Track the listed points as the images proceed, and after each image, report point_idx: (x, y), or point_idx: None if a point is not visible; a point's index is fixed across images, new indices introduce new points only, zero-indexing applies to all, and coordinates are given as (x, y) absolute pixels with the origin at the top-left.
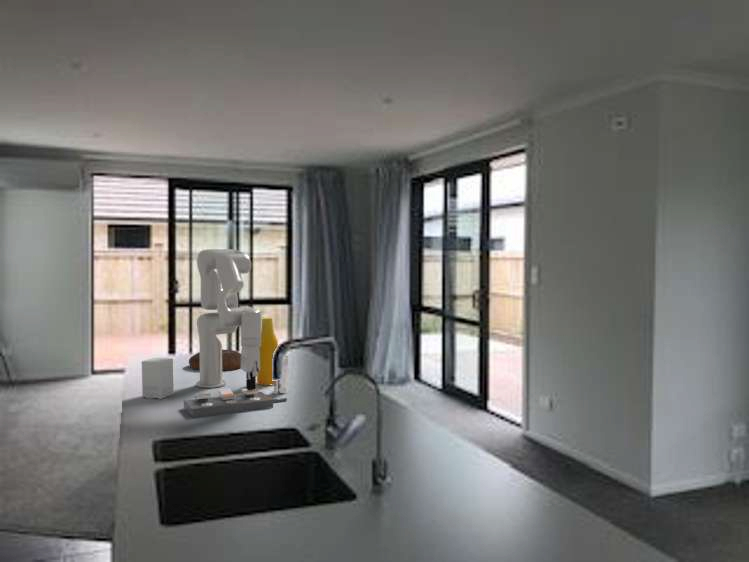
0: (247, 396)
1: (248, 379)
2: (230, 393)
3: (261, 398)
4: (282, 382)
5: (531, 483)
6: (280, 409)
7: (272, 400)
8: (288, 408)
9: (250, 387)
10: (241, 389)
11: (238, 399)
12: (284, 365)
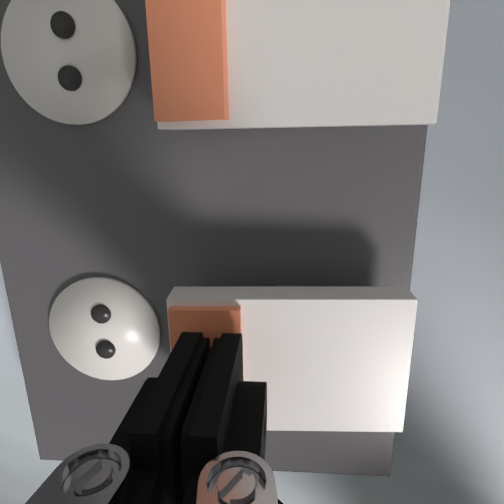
0: None
1: (116, 453)
2: (220, 76)
3: (114, 390)
4: None
5: None
6: (2, 430)
7: (45, 447)
8: (13, 480)
9: (147, 378)
10: (403, 298)
11: (164, 171)
12: None
